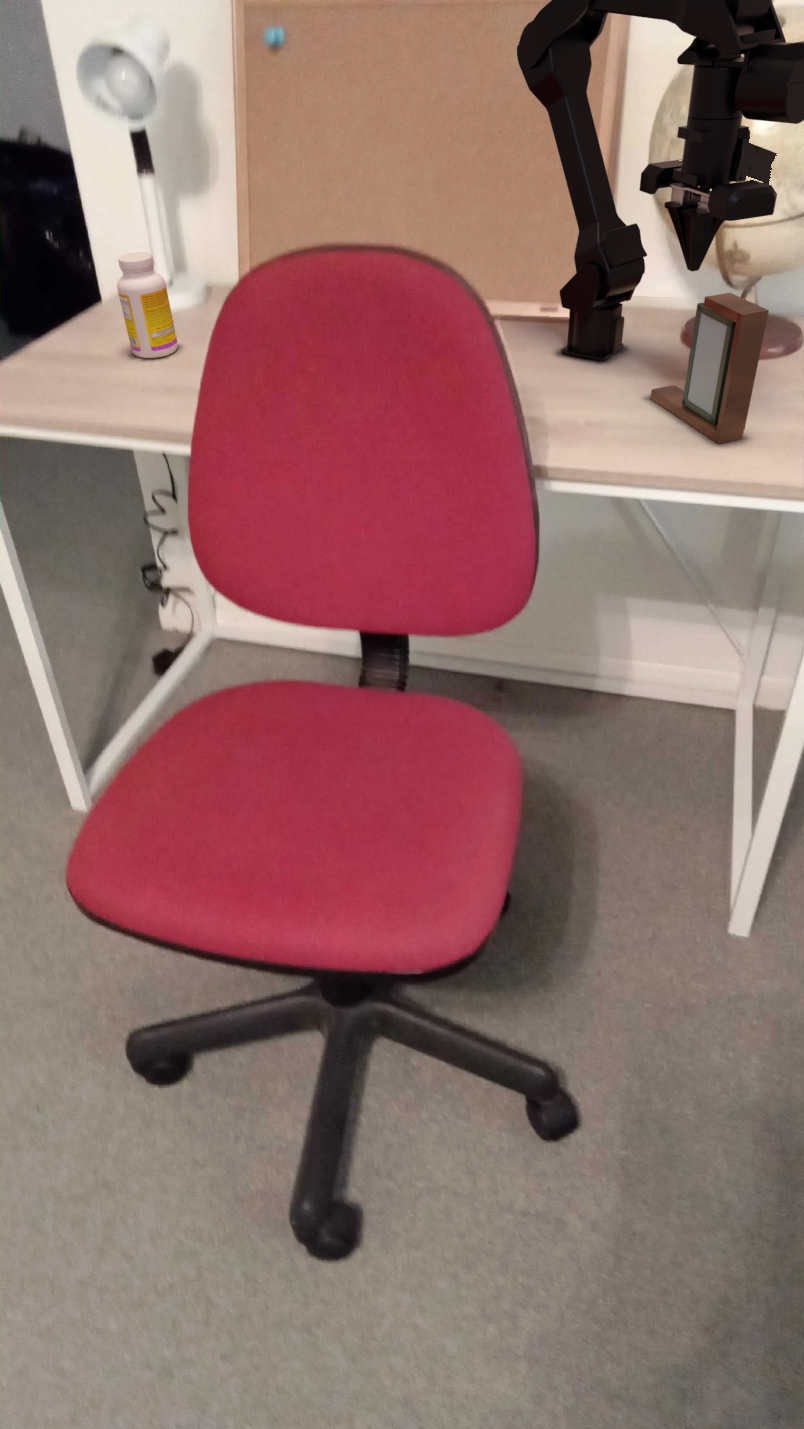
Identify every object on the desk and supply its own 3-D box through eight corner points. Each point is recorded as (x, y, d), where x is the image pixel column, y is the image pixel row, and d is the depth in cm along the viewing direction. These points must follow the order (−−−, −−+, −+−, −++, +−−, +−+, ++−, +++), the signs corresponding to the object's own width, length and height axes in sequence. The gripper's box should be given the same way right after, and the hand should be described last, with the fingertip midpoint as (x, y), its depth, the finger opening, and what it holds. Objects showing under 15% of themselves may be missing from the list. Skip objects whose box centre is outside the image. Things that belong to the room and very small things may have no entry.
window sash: (681, 404, 110) (697, 303, 103) (687, 402, 110) (703, 302, 103) (713, 425, 105) (732, 320, 98) (719, 423, 106) (739, 319, 98)
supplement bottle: (185, 344, 138) (167, 250, 129) (168, 360, 133) (148, 263, 124) (143, 343, 139) (123, 249, 131) (124, 358, 134) (102, 263, 126)
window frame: (650, 398, 115) (666, 278, 106) (672, 394, 116) (690, 274, 107) (718, 444, 104) (742, 314, 95) (742, 439, 105) (769, 310, 96)
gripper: (835, 118, 96) (800, 280, 106) (729, 99, 110) (707, 243, 120) (741, 130, 93) (715, 294, 103) (645, 108, 107) (630, 255, 117)
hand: (693, 270), depth 111 cm, fingers closed
